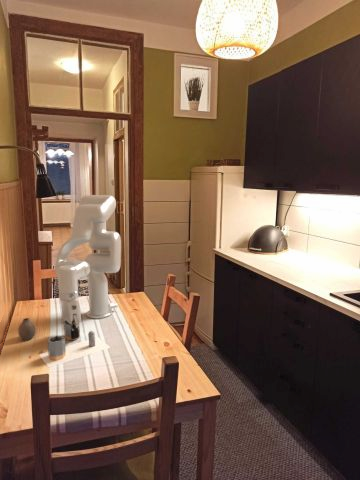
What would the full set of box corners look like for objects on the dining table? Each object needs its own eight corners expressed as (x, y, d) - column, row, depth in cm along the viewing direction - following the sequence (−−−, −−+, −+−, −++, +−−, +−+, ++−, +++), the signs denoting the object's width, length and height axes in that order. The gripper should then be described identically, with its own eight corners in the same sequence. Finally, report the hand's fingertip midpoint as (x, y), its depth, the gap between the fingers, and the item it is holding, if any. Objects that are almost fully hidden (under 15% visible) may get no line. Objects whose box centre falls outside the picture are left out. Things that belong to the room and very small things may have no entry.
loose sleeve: (76, 332, 152) (75, 317, 150) (81, 337, 147) (80, 321, 146) (63, 336, 148) (61, 321, 147) (68, 341, 144) (66, 325, 142)
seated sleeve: (62, 351, 136) (61, 334, 134) (67, 357, 131) (66, 339, 130) (47, 355, 132) (45, 338, 131) (51, 362, 128) (50, 344, 126)
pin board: (97, 340, 148) (96, 323, 147) (110, 351, 138) (109, 332, 137) (39, 358, 134) (37, 339, 132) (48, 371, 124) (47, 351, 123)
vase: (39, 335, 153) (38, 317, 151) (28, 342, 146) (26, 323, 145) (27, 333, 155) (25, 315, 154) (15, 340, 149) (13, 321, 147)
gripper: (85, 298, 139) (88, 340, 143) (70, 287, 153) (73, 326, 157) (67, 303, 135) (70, 345, 139) (53, 291, 149) (56, 330, 152)
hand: (72, 334), depth 148 cm, fingers closed on loose sleeve, 5 cm apart
